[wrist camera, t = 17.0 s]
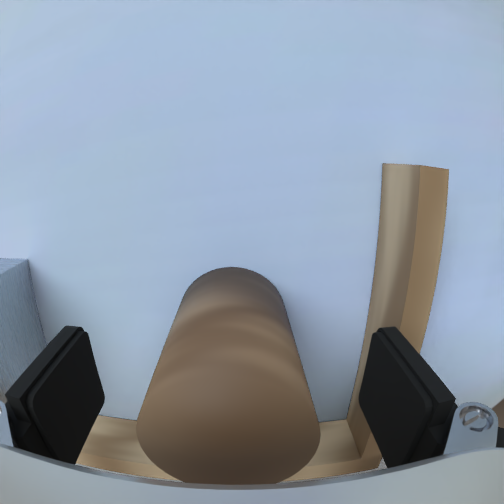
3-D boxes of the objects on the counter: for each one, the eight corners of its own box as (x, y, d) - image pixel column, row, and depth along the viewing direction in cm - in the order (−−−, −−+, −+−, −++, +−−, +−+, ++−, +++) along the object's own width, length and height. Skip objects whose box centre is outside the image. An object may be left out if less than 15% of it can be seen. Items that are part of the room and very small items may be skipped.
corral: (407, 166, 12) (448, 169, 9) (361, 430, 16) (377, 468, 13) (-80, 194, 11) (-113, 202, 8) (-27, 393, 15) (-47, 416, 12)
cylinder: (287, 266, 13) (333, 373, 6) (282, 359, 14) (308, 487, 7) (176, 266, 13) (118, 371, 6) (184, 359, 14) (154, 485, 7)
